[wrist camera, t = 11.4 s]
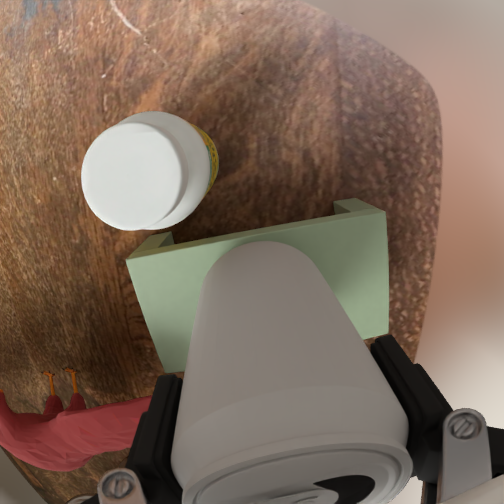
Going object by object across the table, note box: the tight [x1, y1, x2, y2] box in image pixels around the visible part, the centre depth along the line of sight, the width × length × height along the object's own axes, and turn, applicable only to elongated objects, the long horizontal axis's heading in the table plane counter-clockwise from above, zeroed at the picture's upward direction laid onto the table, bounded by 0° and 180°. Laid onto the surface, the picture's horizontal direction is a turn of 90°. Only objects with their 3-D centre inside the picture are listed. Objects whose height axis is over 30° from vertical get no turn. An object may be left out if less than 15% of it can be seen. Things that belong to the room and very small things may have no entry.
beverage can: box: [171, 241, 413, 504], centre depth 11 cm, size 6×6×12 cm
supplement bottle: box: [81, 111, 219, 230], centre depth 15 cm, size 5×5×10 cm
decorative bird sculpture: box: [0, 367, 152, 471], centre depth 21 cm, size 28×9×15 cm
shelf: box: [126, 198, 389, 373], centre depth 20 cm, size 14×8×5 cm, turn 100°
